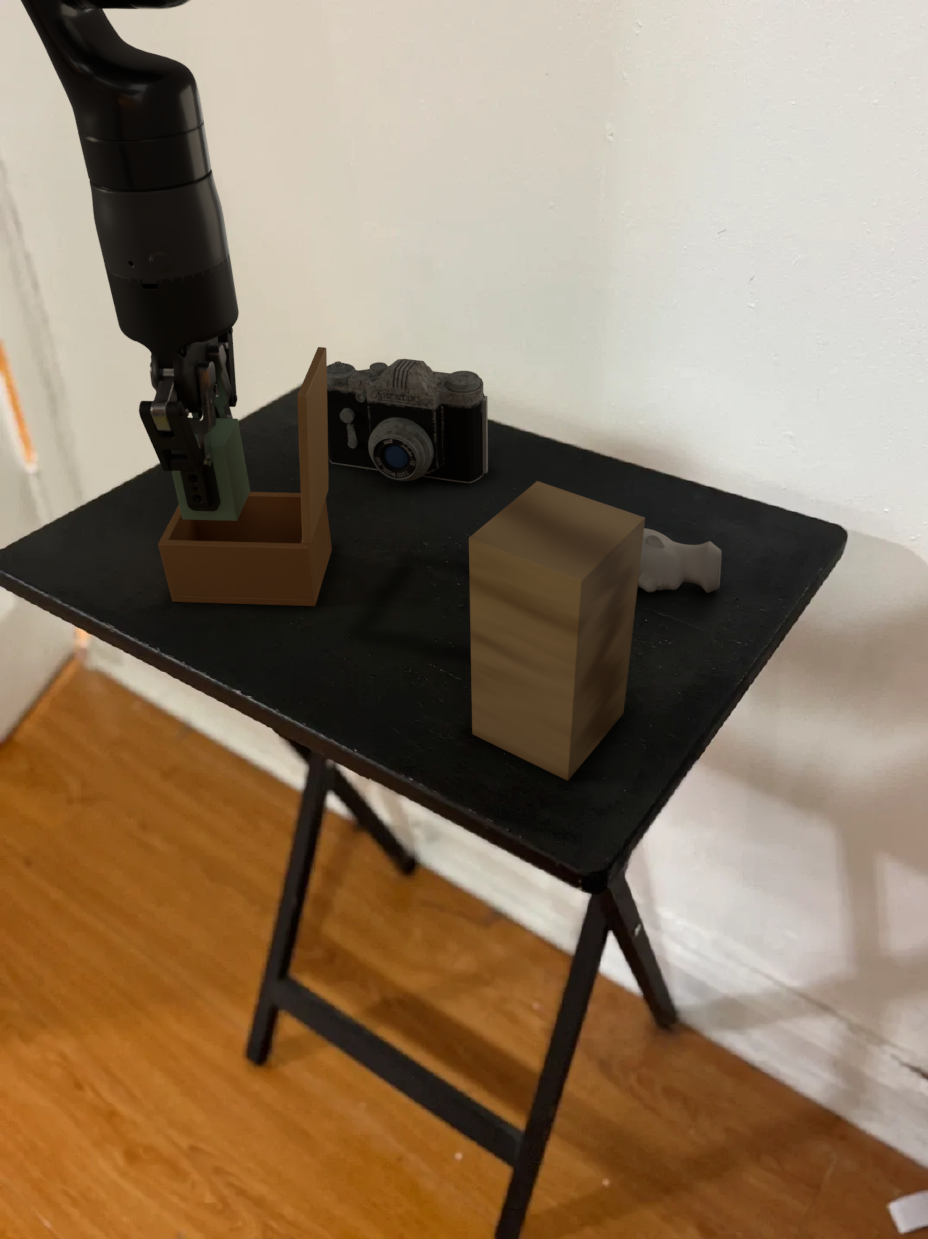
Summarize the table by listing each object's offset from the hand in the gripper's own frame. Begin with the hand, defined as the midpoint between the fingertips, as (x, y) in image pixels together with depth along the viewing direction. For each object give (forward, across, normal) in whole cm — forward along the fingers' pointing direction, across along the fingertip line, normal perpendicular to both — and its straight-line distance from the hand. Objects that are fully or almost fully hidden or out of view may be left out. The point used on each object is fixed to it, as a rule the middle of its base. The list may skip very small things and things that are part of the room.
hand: (213, 490), depth 74 cm
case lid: (-4, 0, +7) cm, 8 cm away
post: (+8, +15, +24) cm, 29 cm away
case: (+8, 0, +2) cm, 8 cm away
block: (+1, 0, 0) cm, 1 cm away
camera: (+8, -16, +11) cm, 21 cm away
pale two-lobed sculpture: (+8, 0, +33) cm, 34 cm away
